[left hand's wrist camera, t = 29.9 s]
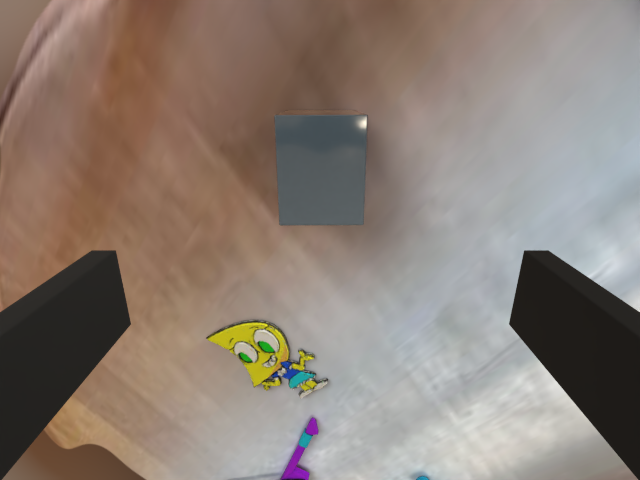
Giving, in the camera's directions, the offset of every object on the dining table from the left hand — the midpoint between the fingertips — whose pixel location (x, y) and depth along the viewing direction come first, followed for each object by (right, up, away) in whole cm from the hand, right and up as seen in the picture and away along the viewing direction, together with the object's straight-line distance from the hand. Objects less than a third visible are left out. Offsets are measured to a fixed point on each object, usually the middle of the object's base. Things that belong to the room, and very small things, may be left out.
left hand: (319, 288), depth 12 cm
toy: (-7, -14, +39) cm, 42 cm away
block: (0, +11, +29) cm, 31 cm away
